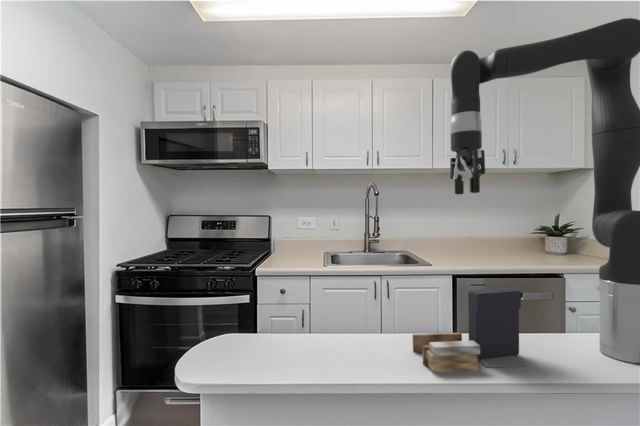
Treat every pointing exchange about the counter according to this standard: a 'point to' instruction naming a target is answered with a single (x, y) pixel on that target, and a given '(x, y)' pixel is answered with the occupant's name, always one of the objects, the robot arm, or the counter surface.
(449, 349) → the offcut stack
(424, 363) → the rack
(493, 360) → the slate mat
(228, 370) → the counter surface
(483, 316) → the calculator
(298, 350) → the counter surface
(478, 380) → the counter surface
